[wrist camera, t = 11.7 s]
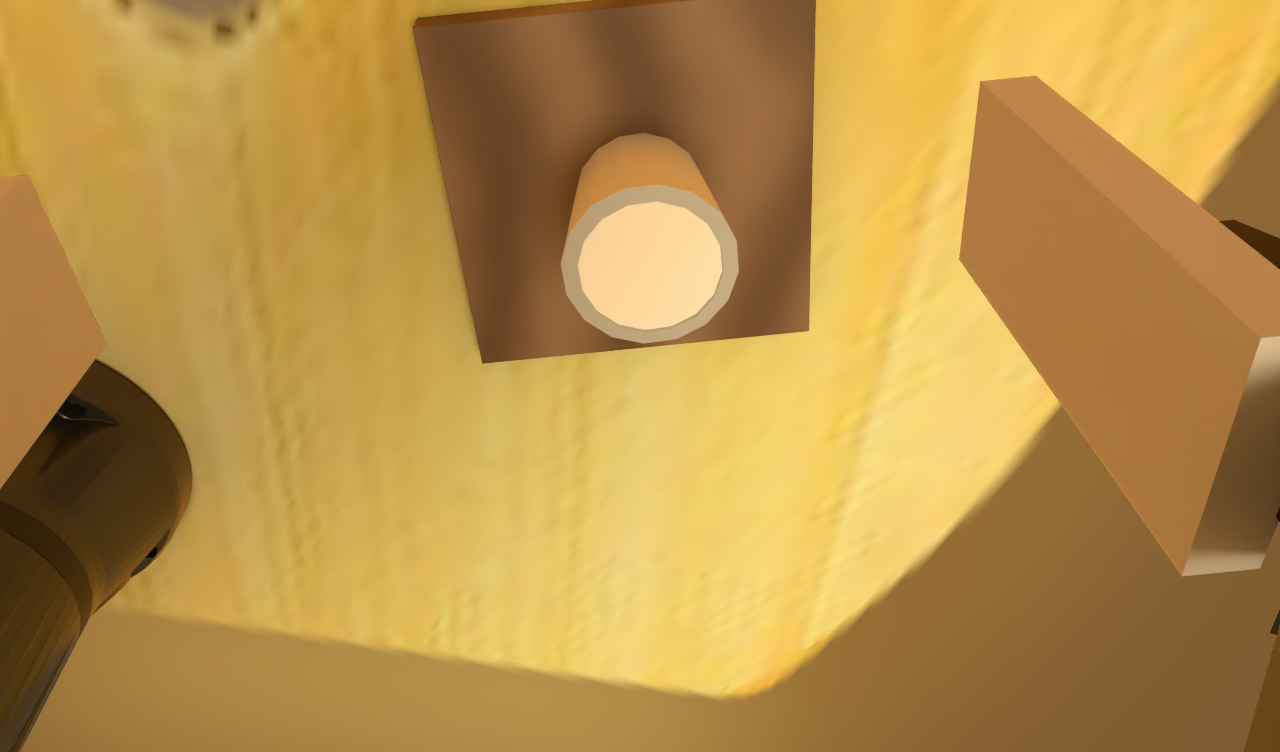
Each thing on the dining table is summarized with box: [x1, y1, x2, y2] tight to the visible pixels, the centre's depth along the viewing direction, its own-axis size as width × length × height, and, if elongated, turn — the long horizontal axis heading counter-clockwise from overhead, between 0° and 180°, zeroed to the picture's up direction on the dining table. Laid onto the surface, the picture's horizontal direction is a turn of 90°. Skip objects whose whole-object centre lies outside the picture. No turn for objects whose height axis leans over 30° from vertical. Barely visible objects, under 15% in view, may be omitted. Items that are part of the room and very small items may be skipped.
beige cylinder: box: [561, 133, 739, 344], centre depth 40 cm, size 7×7×7 cm
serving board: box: [413, 0, 816, 364], centre depth 44 cm, size 16×16×2 cm
